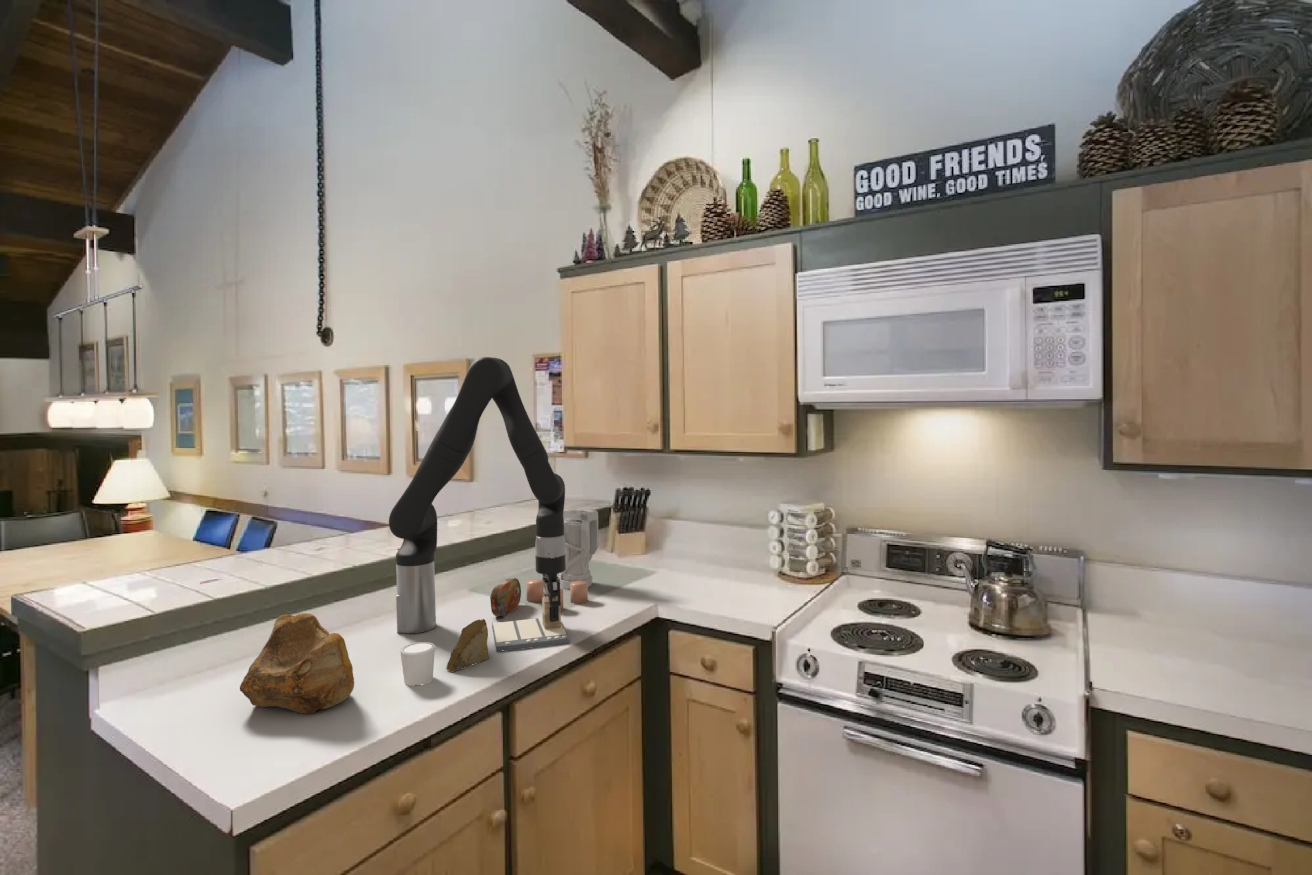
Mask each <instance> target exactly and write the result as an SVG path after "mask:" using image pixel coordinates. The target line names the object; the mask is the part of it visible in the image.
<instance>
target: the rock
mask: <svg viewBox="0 0 1312 875" xmlns="http://www.w3.org/2000/svg"><path fill="white" fill-rule="evenodd" d="M488 639H489V630H488V625H487V622H486V619H485V618H482V619H477V620H473V621H472V622H470V623H469V624H467V625H466V626H464V627H463V628H462V629H461V632H460V636H459V638H458V640H457V642H456V645H455V647H453V649H452V651H451V653H450V657H449V659H448V661H447V664H446V668H445V669H446V670H447V671H449V672H451V673H453V672H456V671H460V670H462V668H463V669H465V668H464V667H466V668H468V667H470V665H471V666H473V665H472V664H474V665H476V664H475V663H477V664H479V663H481V662H483V661H486V660H488V659H489V648H488ZM459 669H460V670H459Z"/></svg>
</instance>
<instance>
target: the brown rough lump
mask: <svg viewBox="0 0 1312 875" xmlns="http://www.w3.org/2000/svg"><path fill="white" fill-rule="evenodd" d="M351 662H352V661H351V659H350V658H349V652H348V648H347V644H346V641H345V639H344V637H343V636H341V635H340V634H339V633H338V632H337V633H336V632H333V633H330V632H329V631H328V630H327V629H326V628H325V627H323V626H322V625H321V624H320V622H319V619H318V618H317V617H316V615H314V614H312V613H306V612H304V613H298V614H295V615H292V614H282V615H279V616H278V617H277V618H276V619H275V622H274V623H273V628H272V631H271V633H270V635H269V637H268V640H267V642H266V643H265V645H264V646H263V647H262V650H261V652H260V653H259V654H258V656H257V657H256V658H255V659H254V660H253V662H252V663H251V665H250V666H249V668H248V671H247V673H246V674H245V675H244V677H243V680H242V682H241V683H240V685H239V691H240V692H241V693H243V695H244V696H245V697H246V698H247V699H248V700H249V702H250V704H251V705H252V706H255V707H258V706H259V707H260V708H267V707H280V708H283V709H287V710H290V711H293V712H295V713H296V712H297V713H299V714H300V713H301V714H306V713H308V714H309V715H312V714H314V713H315V712H316V711H318V710H327V709H329V708H331V707H334V706H336V705H338V704H340V703H342V702H343V701H345V700H346V698H348V697H349V696H350V695H351V694H352V692H353V690H354V689H355V677H354V673H353V672H354V671H353V664H352V663H351Z"/></svg>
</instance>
